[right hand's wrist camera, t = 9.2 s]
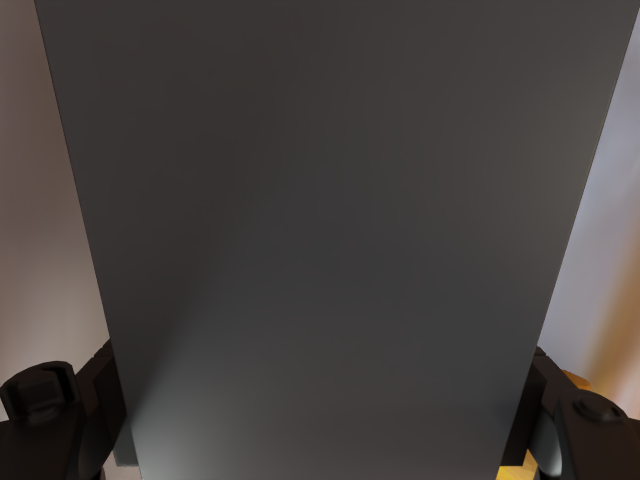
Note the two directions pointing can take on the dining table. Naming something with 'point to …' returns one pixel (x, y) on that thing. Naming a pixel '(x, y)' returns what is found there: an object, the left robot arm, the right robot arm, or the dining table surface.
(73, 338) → the dining table surface
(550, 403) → the right robot arm
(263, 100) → the long gray bar
